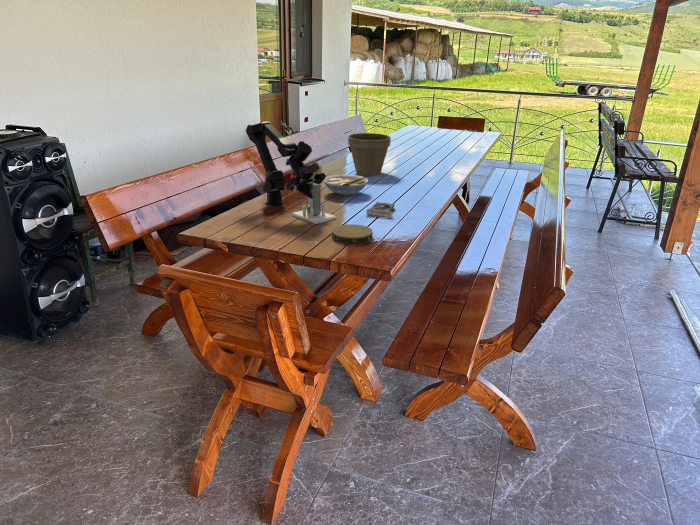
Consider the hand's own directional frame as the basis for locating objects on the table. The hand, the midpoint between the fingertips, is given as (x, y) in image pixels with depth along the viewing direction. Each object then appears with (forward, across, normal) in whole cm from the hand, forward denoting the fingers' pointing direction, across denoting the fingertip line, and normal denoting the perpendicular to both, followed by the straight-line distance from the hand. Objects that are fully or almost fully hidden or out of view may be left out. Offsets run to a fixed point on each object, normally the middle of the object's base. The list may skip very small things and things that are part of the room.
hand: (315, 197), depth 224 cm
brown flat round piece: (+27, -6, -14) cm, 31 cm away
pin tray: (+6, 0, +7) cm, 9 cm away
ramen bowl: (-8, +38, +21) cm, 44 cm away
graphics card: (+17, +28, -3) cm, 33 cm away
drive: (+4, 0, +6) cm, 8 cm away
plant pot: (-26, +82, +39) cm, 94 cm away
